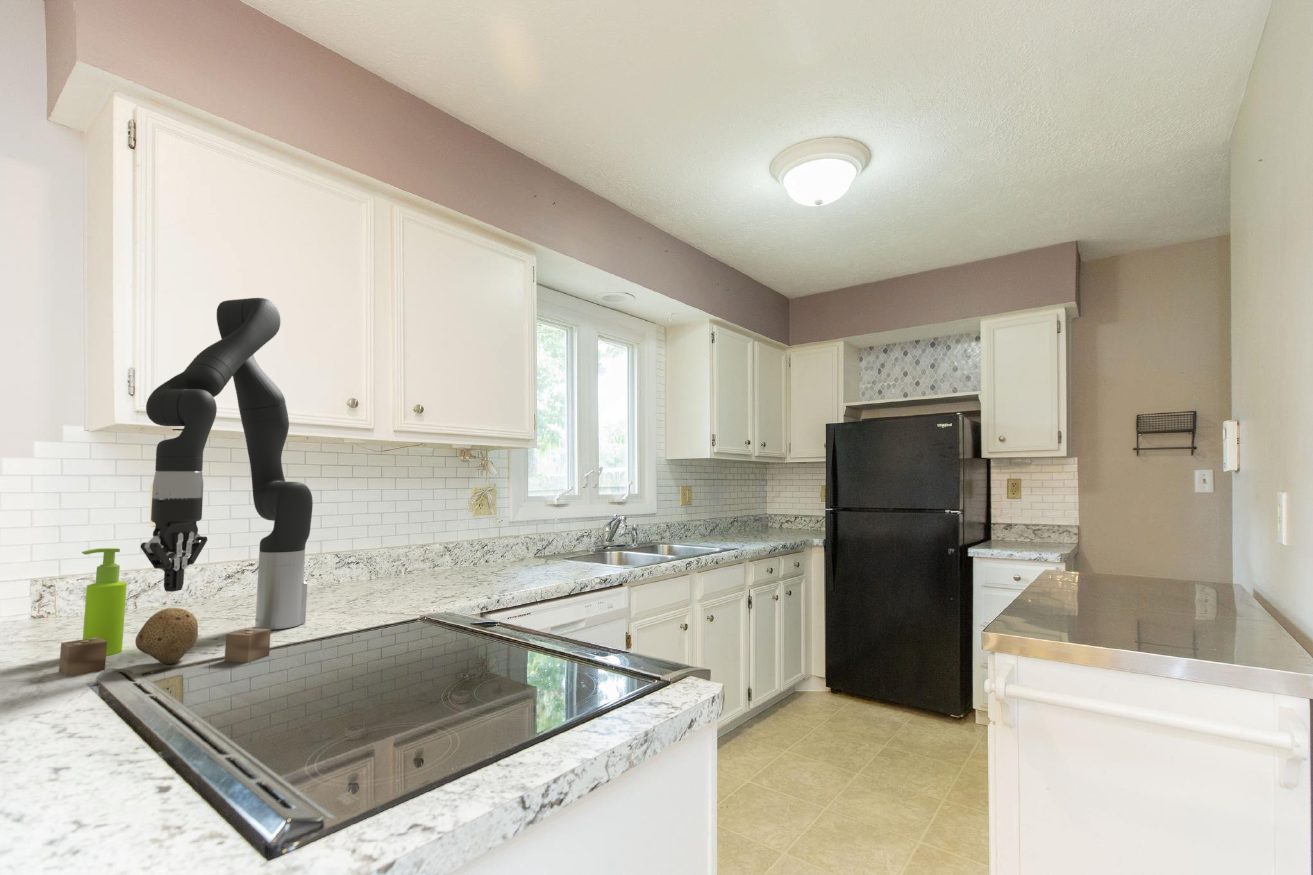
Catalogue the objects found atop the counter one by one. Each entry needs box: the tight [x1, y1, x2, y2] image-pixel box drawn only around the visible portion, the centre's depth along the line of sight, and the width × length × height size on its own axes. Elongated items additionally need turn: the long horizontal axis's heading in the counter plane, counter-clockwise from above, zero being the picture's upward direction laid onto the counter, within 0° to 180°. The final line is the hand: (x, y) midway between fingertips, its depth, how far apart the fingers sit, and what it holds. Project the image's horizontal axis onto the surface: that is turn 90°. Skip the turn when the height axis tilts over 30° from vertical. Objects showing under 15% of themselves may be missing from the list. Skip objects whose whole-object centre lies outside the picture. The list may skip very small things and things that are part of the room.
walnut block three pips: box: [58, 637, 107, 678], centre depth 111 cm, size 5×5×5 cm
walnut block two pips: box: [224, 627, 272, 664], centre depth 119 cm, size 5×5×5 cm
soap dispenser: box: [81, 547, 128, 657], centre depth 122 cm, size 6×7×20 cm
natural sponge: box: [135, 607, 199, 665], centre depth 115 cm, size 9×9×10 cm
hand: (173, 590), depth 116 cm, fingers closed
